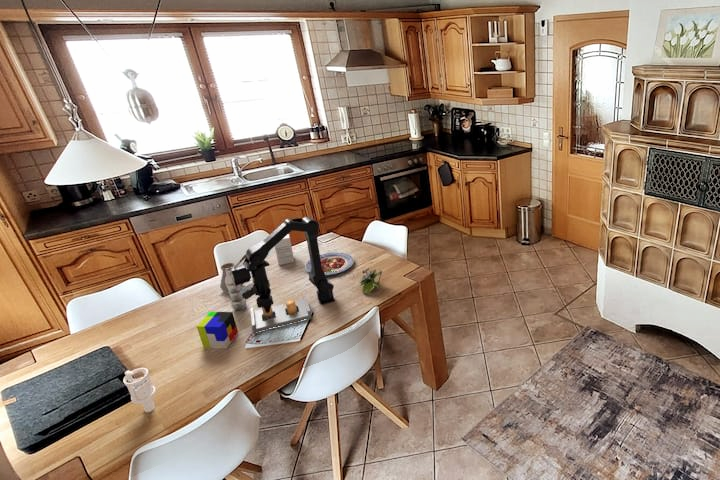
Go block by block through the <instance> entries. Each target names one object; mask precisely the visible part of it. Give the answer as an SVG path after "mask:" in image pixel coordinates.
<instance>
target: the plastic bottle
mask: <svg viewBox="0 0 720 480" xmlns="http://www.w3.org/2000/svg"><path fill="white" fill-rule="evenodd" d="M231 269H234V268H233V267H231V268H227V269H226V270H225V271H226V275H227V276H226V278H225V284H226V286H227V288H228V290H229V296H230V297H229V298H230V305H231V307H232V309H233V310H234V311H242V310H244V309H245V308H246V306H247V299H246V300H245V298H243V296H242V294H241V289H242V287H241V284H240V285H237V286H235V285H234V282H233V279H232V276H231V275H232V274H231Z"/></svg>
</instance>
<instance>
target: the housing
mask: <svg viewBox="0 0 720 480" xmlns="http://www.w3.org/2000/svg"><path fill="white" fill-rule="evenodd" d="M301 298H302V299H299V300H294V301H295V303H296V308H297V313H294V314H290V315H288V314H287V313H288V312H287V307H286V302H285V303H282V304H278V305H272V310H273V313H272V314H271V315H269V316H264V315H263V311H262V308H260V309H257V310H255V309H254V307H250V318H251V328H252V330H253V331H252V332H253V334H254V333H255V334H257V333H256V332H259V331H262V330H266V329H269V328H273V327H278V326H282V325H286V326H288V325H287V324H290V323H294V322H297V323H299V322H298V321H301V320H304V319H309V320H312V319H313V317H312V312H311V309H310V306H309V303H308V300H307V297H306V295H305V294H303V295H302V297H301ZM273 316H275V317H274V318H271V319H267V320H264V319H266V318H270V317H273ZM301 322H302V321H301ZM294 324H295V323H294ZM290 325H291V324H290ZM282 327H283V326H282ZM278 328H279V327H278ZM259 333H260V332H259Z"/></svg>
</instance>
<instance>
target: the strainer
mask: <svg viewBox="0 0 720 480" xmlns="http://www.w3.org/2000/svg"><path fill="white" fill-rule="evenodd" d="M140 372H143V375H144V376H142V377H138V378H134V377H133V375H135V374H138V373H140ZM124 375H125V376H124V377H123V380H122V382H123V383H124V385H125V386H126V387H127V389H128V393H129V394H130V400H131V402H132V404H134V405H141V406H142V408H143V411H144V412H145V413H151V412H152V411H154V410H155V407H156V406H155V403H154V401H153V398H154V397H155V395H156V393H157V389H156V387H155V386H154V385H153V384H152V383H153V382H152V380H151V378H150V372H149V369H148V368H147V367H139V368H134V369H133V370H126V371H125V372H124Z"/></svg>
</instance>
